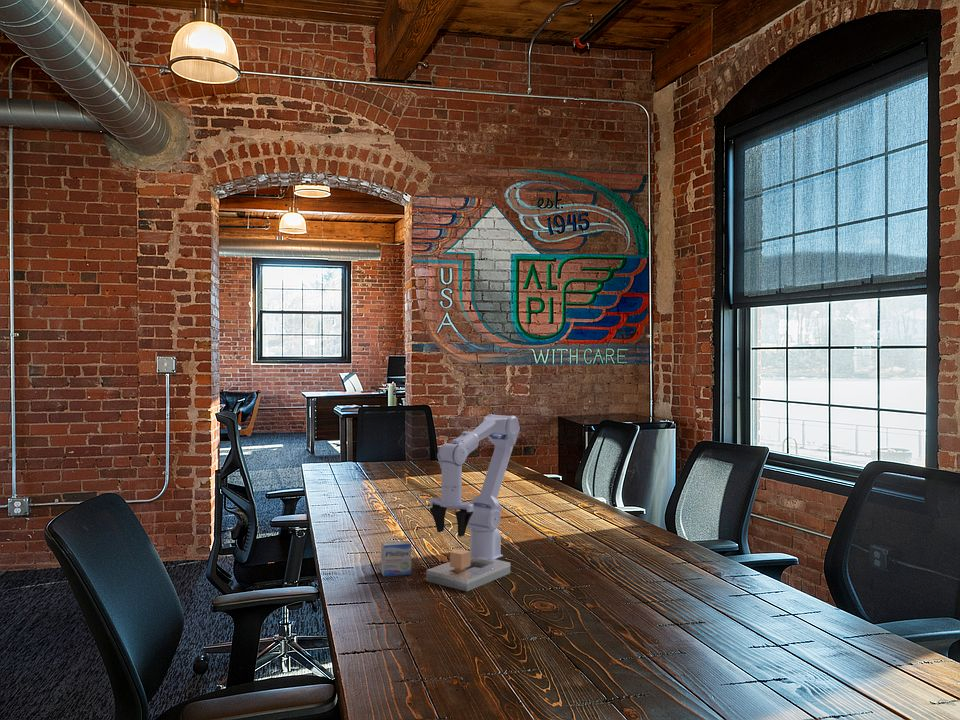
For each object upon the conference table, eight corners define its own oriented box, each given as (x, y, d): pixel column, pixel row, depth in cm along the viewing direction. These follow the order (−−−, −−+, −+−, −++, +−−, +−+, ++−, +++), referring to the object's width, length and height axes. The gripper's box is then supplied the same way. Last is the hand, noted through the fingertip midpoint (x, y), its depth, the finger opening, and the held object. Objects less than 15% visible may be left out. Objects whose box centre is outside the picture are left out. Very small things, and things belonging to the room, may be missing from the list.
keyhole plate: (470, 564, 219) (470, 554, 219) (510, 573, 211) (510, 562, 211) (426, 581, 203) (426, 570, 203) (467, 591, 195) (467, 580, 195)
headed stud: (458, 576, 207) (458, 548, 207) (472, 580, 204) (473, 551, 204) (447, 581, 203) (447, 551, 203) (461, 585, 200) (461, 555, 200)
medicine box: (383, 577, 206) (383, 545, 206) (380, 572, 211) (381, 541, 211) (411, 575, 209) (411, 544, 208) (408, 570, 213) (408, 540, 213)
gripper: (422, 484, 214) (422, 532, 214) (463, 491, 205) (462, 540, 205) (438, 481, 220) (438, 527, 220) (478, 487, 211) (477, 535, 211)
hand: (450, 533), depth 213 cm, fingers open, 7 cm apart
